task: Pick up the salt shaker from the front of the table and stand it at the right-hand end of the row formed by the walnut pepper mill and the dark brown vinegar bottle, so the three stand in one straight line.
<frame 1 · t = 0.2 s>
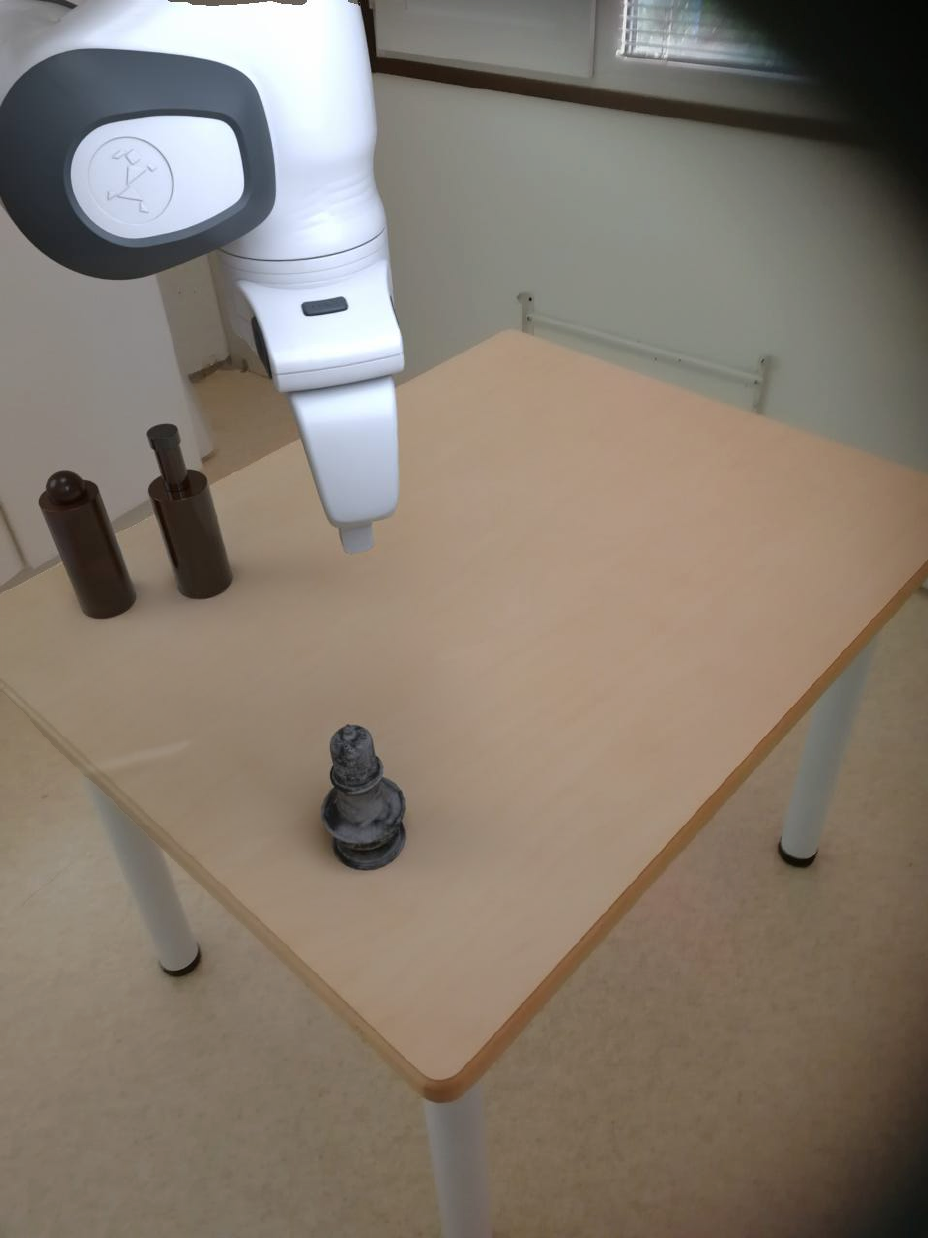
hand: (342, 502, 60), 23 cm above the table, tool pointing down, fingers open, 8 cm apart
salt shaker: (369, 840, 68), on the table
vinegar bottle: (205, 581, 92), on the table
pepper mill: (109, 601, 90), on the table
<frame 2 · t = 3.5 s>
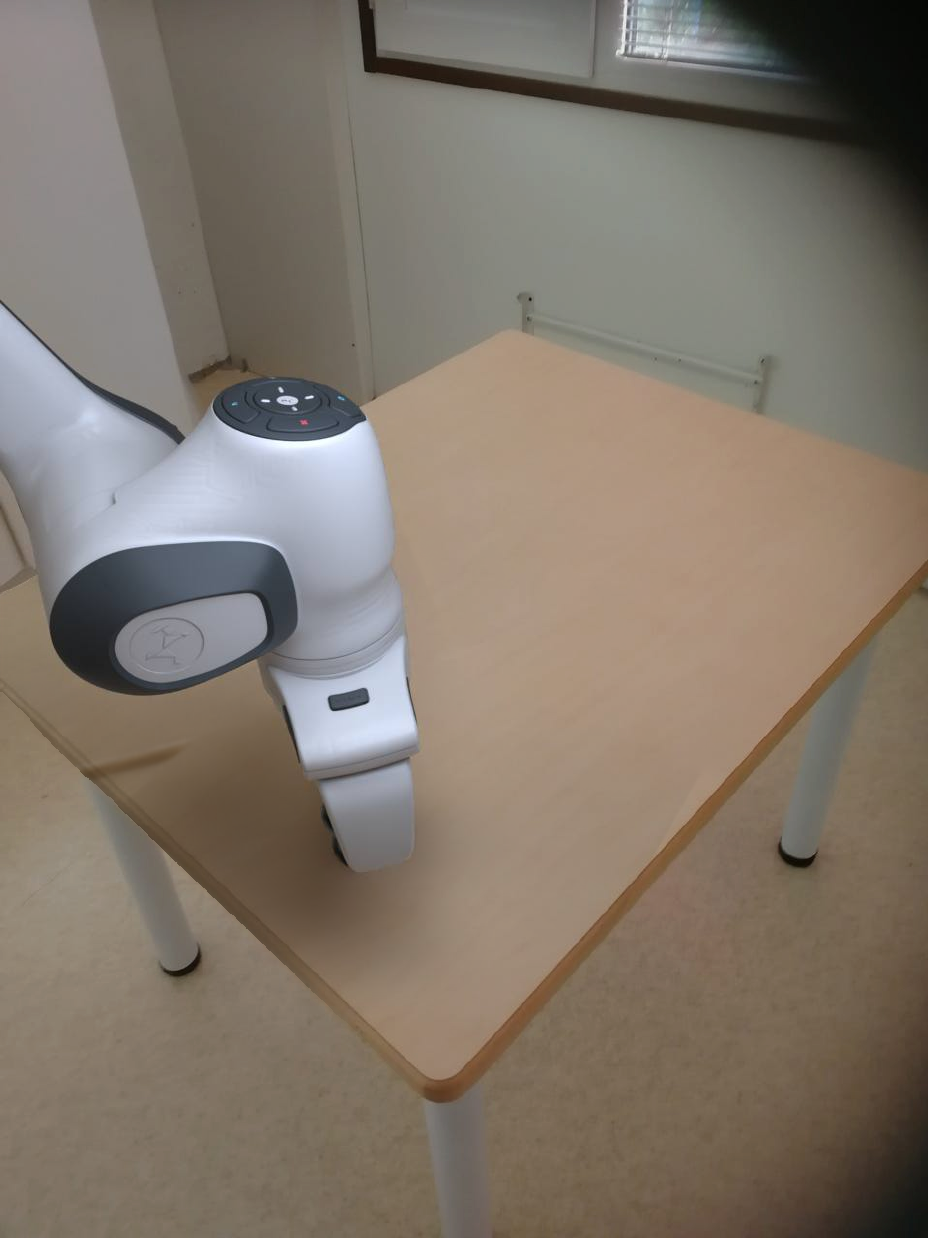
hand: (360, 794, 65), 5 cm above the table, tool pointing down, fingers closed on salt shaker, 3 cm apart
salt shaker: (369, 840, 68), on the table, touching gripper
everything else where it was.
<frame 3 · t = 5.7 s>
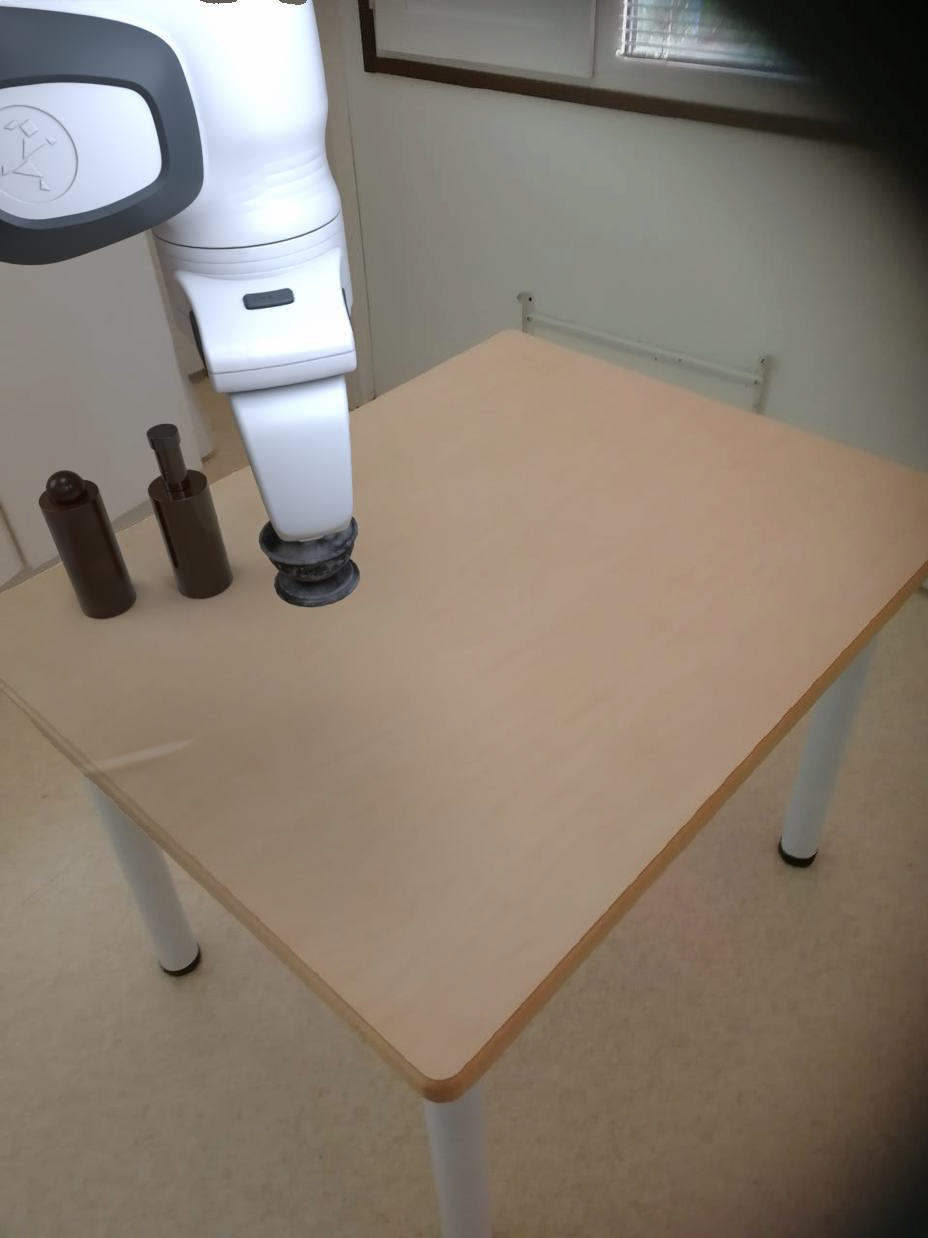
hand: (303, 511, 55), 25 cm above the table, tool pointing down, fingers closed on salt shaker, 3 cm apart
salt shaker: (317, 582, 59), point 20 cm above the table, touching gripper
everything else where it was.
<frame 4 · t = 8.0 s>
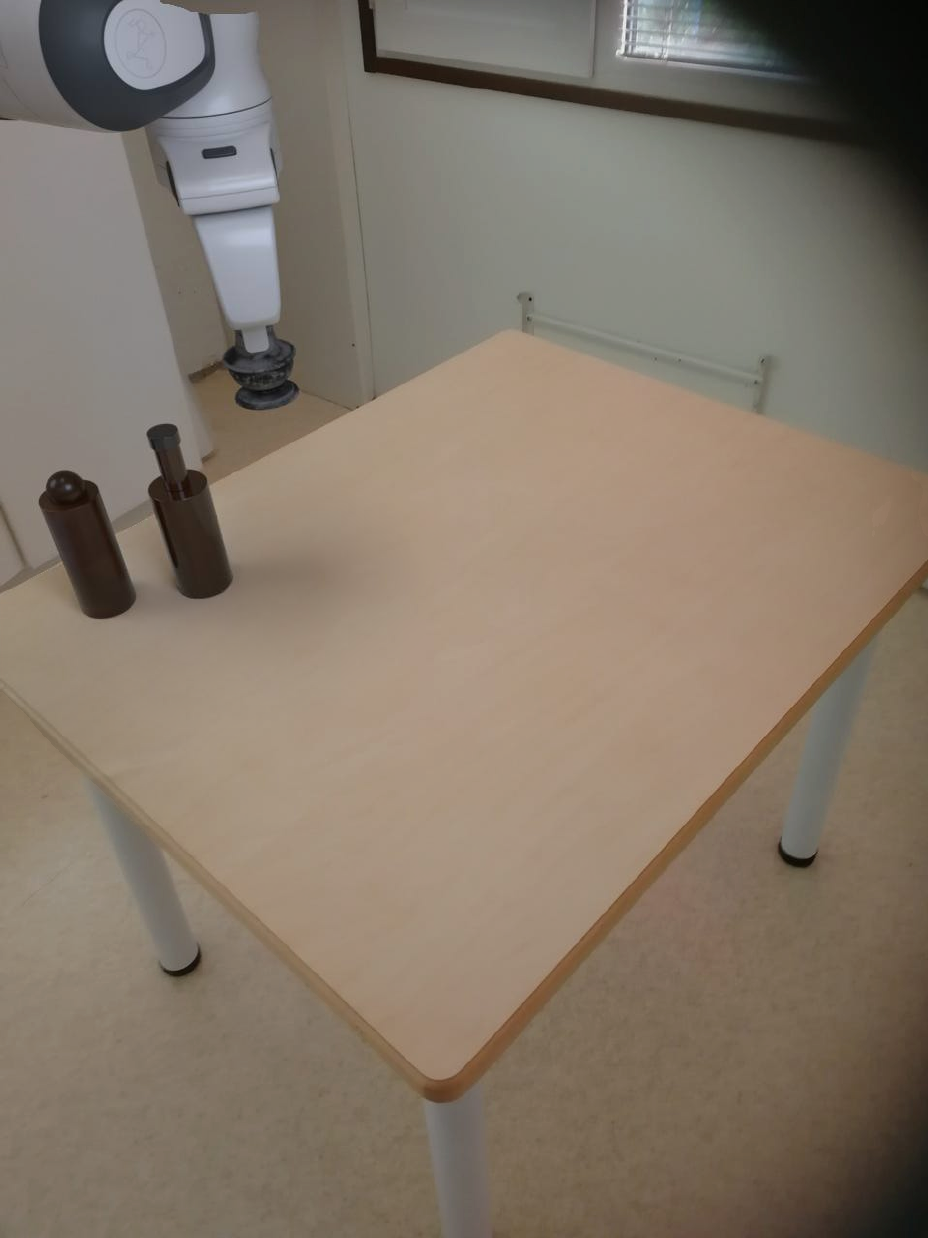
hand: (254, 336, 75), 24 cm above the table, tool pointing down, fingers closed on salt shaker, 3 cm apart
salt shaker: (267, 396, 79), point 19 cm above the table, touching gripper
everything else where it was.
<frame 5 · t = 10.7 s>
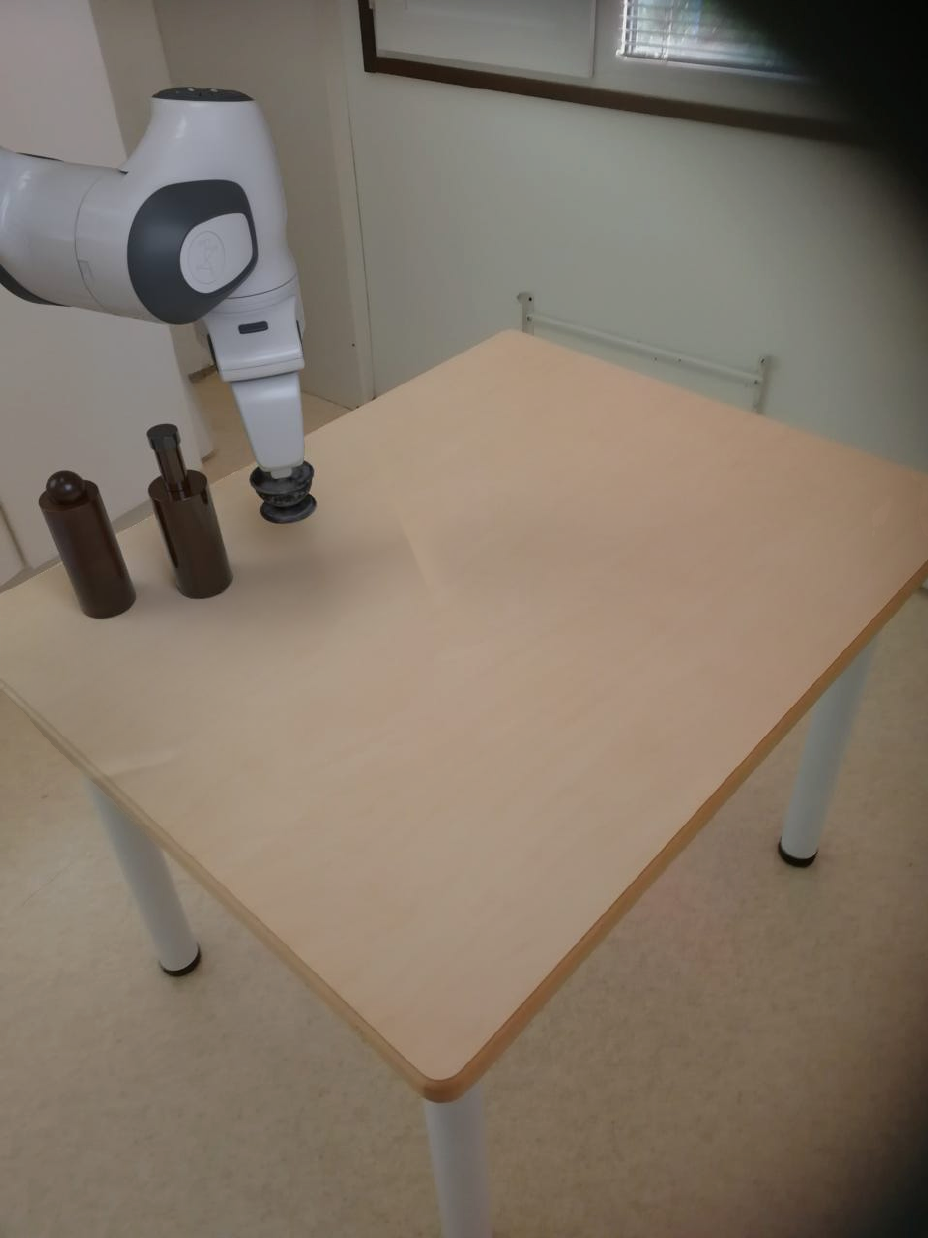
hand: (277, 460, 85), 12 cm above the table, tool pointing down, fingers closed on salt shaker, 3 cm apart
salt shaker: (288, 509, 89), point 6 cm above the table, touching gripper
everything else where it was.
when the fingers open (5 cm above the table, at t = 12.5 s): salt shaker stays where it is, on the table.
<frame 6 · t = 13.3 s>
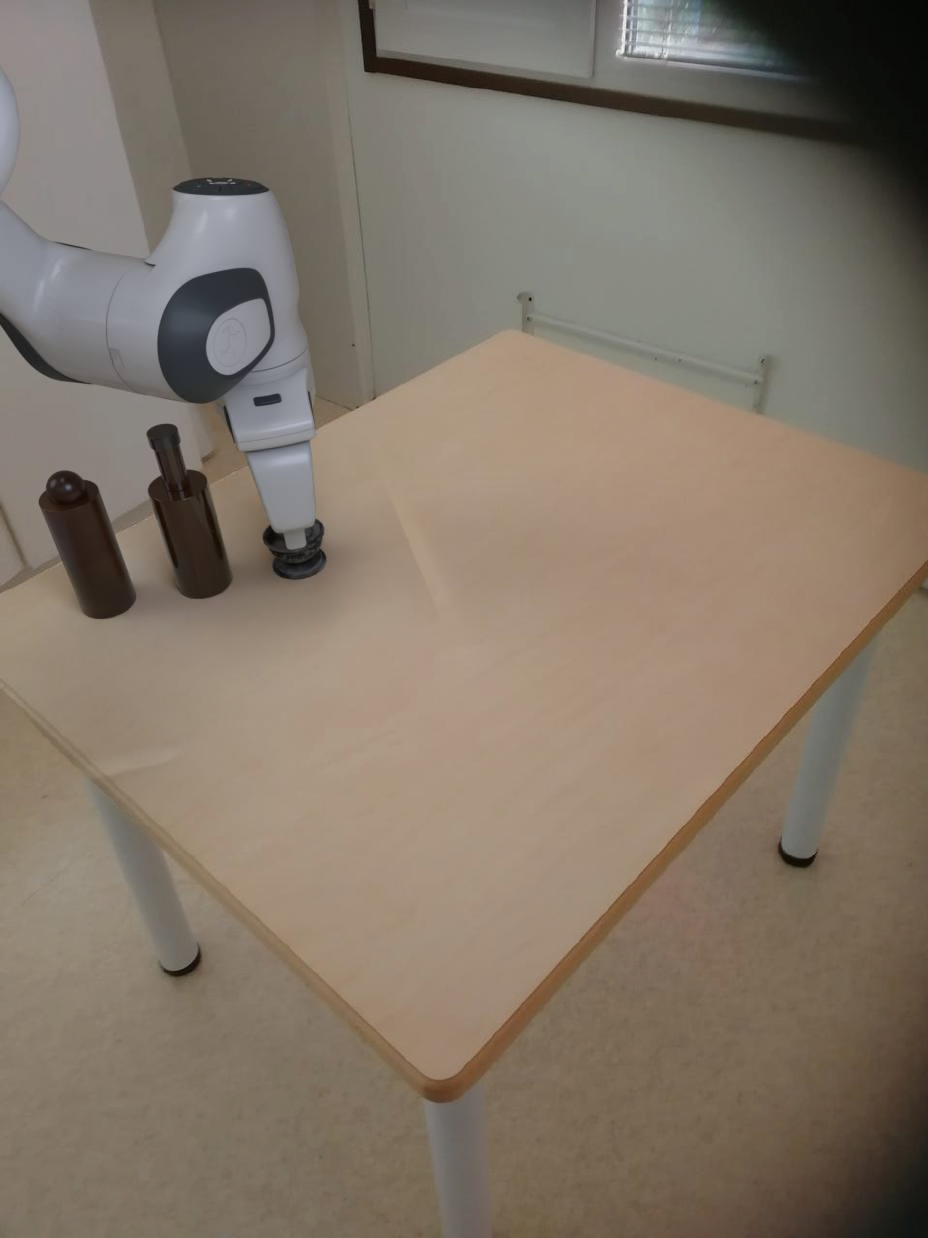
hand: (288, 515, 89), 6 cm above the table, tool pointing down, fingers open, 8 cm apart
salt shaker: (299, 564, 93), on the table
everything else where it was.
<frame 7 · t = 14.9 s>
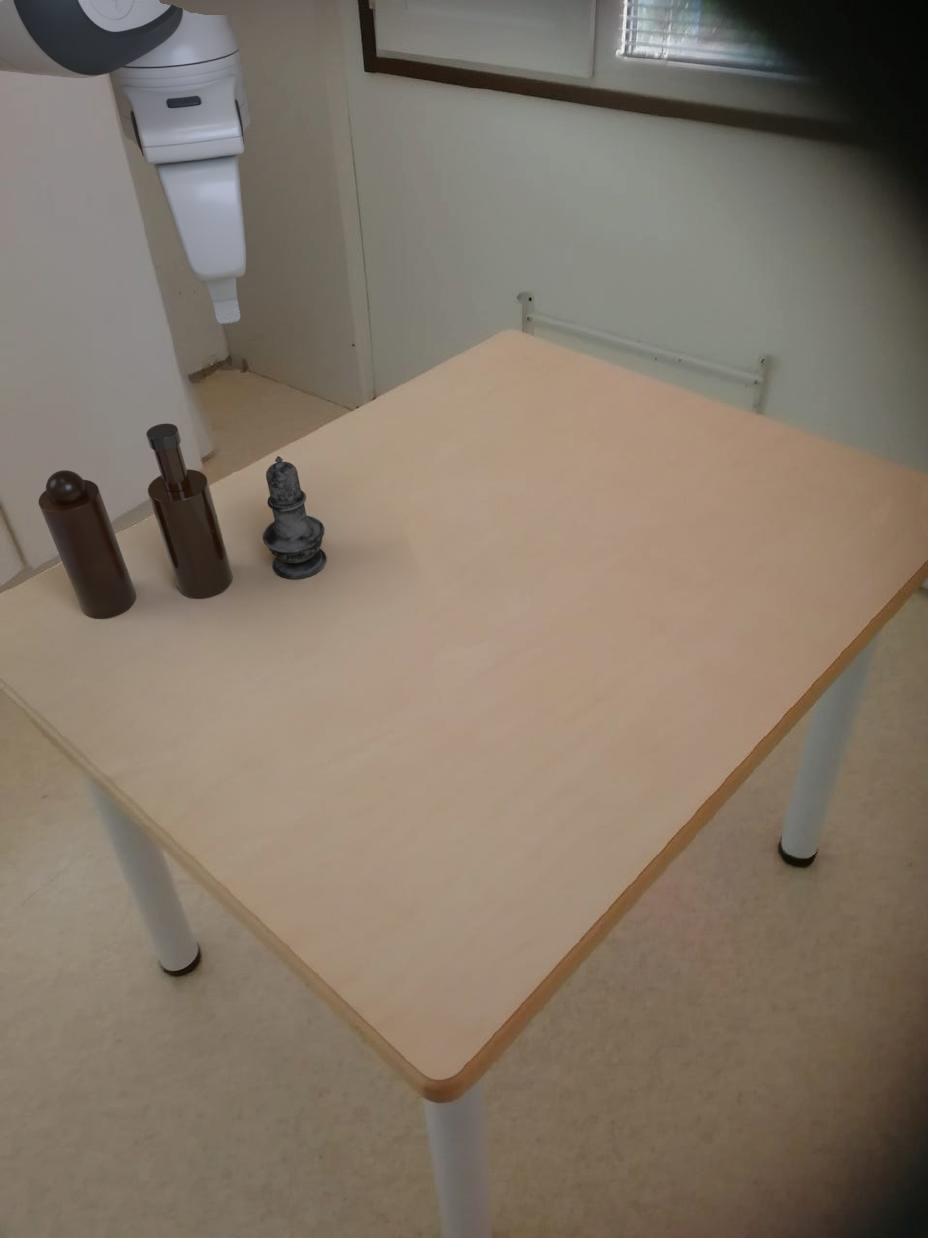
hand: (223, 295, 75), 27 cm above the table, tool pointing down, fingers open, 8 cm apart
nothing on the table moved.
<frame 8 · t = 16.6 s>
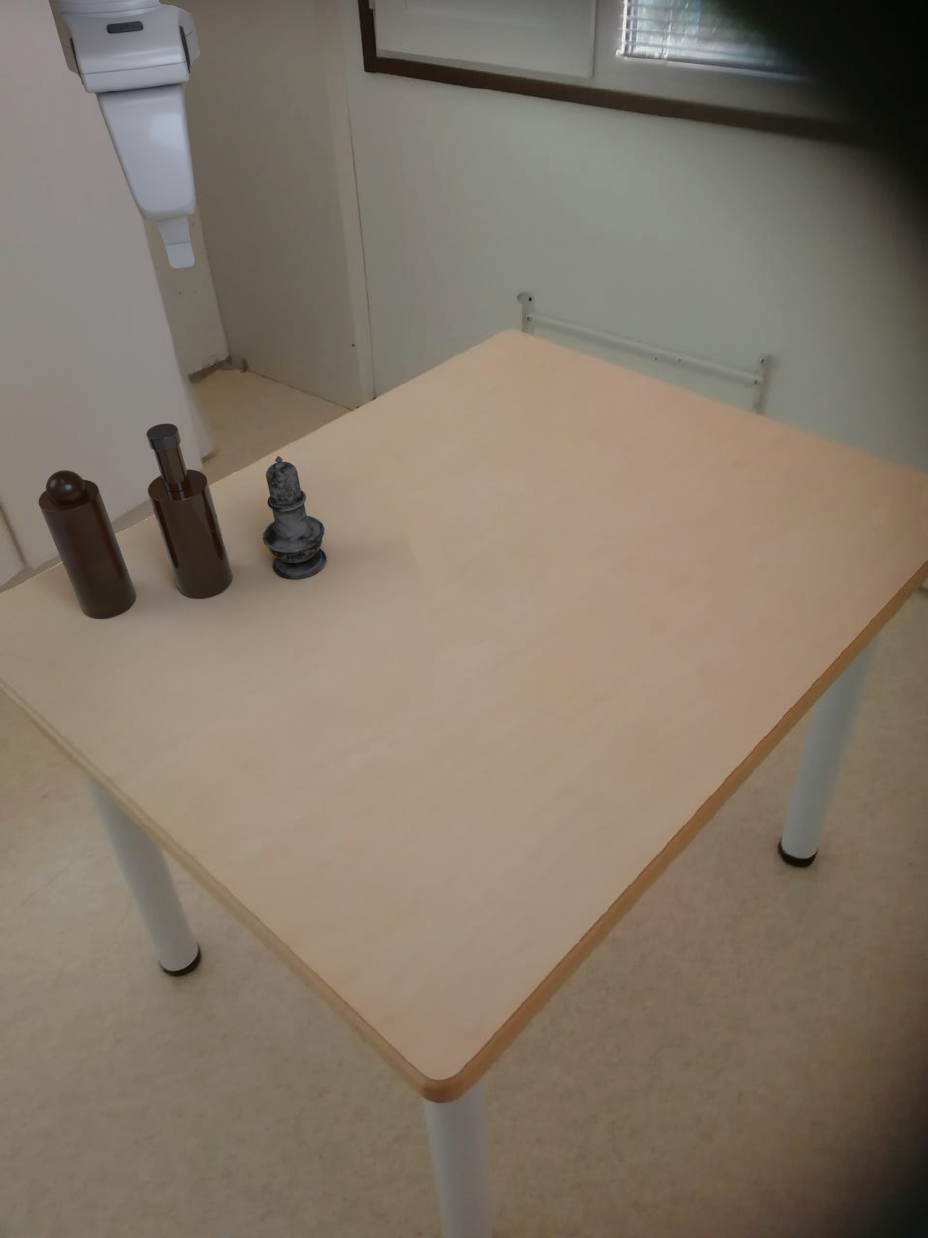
hand: (179, 242, 73), 31 cm above the table, tool pointing down, fingers open, 8 cm apart
nothing on the table moved.
at the end: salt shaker 0.2 cm from the target spot on the table beside the vinegar bottle, on the table; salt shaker tilted 0°; the gripper is holding nothing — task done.
